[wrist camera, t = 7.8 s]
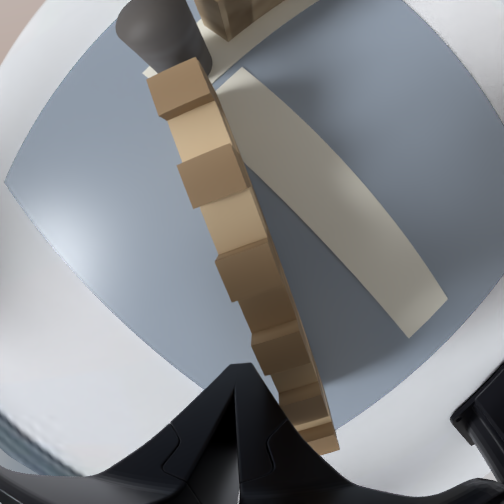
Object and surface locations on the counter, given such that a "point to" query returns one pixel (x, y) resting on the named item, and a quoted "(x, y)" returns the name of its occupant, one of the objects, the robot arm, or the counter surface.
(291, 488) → the robot arm
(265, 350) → the folding fence panel
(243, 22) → the fixed fence section
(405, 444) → the counter surface
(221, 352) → the card
